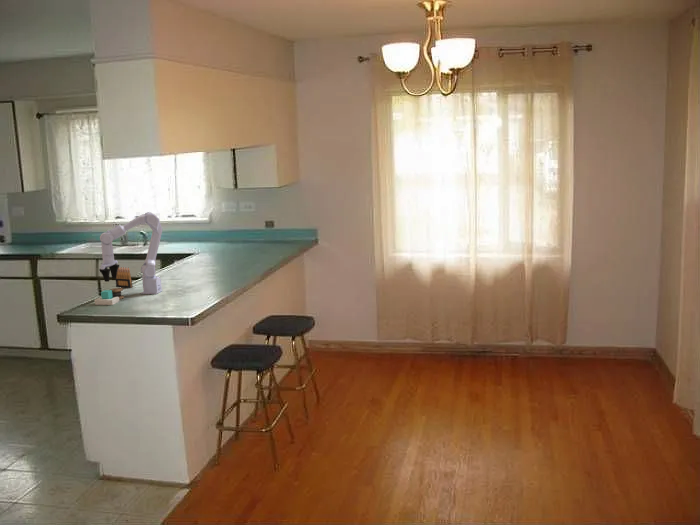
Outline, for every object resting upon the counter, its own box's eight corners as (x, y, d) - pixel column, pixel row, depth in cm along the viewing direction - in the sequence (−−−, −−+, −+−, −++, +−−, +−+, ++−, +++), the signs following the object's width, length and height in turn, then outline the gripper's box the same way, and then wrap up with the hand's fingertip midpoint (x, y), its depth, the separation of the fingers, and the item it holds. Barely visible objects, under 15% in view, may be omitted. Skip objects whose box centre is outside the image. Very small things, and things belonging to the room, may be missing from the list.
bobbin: (126, 296, 375) (125, 288, 374) (119, 299, 368) (118, 291, 367) (114, 296, 376) (113, 287, 375) (107, 299, 370) (106, 291, 369)
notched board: (119, 301, 365) (118, 296, 365) (112, 304, 358) (112, 300, 358) (102, 301, 367) (101, 296, 367) (95, 304, 360) (94, 300, 360)
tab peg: (113, 301, 365) (111, 290, 364) (109, 303, 361) (107, 292, 360) (106, 301, 366) (104, 290, 365) (102, 303, 362) (100, 291, 361)
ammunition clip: (116, 287, 399) (113, 266, 397) (118, 286, 401) (116, 266, 399) (130, 288, 395) (128, 267, 393) (132, 287, 397) (130, 267, 394)
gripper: (108, 252, 377) (110, 276, 380) (93, 257, 363) (96, 282, 366) (120, 252, 376) (122, 276, 378) (106, 257, 362) (109, 282, 364)
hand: (110, 279), depth 372 cm, fingers open, 7 cm apart
